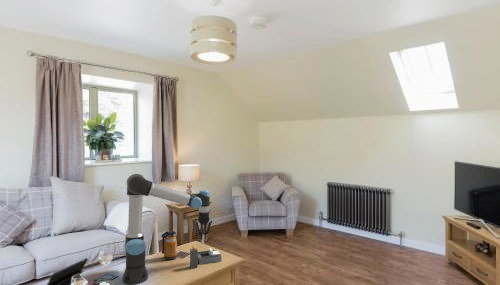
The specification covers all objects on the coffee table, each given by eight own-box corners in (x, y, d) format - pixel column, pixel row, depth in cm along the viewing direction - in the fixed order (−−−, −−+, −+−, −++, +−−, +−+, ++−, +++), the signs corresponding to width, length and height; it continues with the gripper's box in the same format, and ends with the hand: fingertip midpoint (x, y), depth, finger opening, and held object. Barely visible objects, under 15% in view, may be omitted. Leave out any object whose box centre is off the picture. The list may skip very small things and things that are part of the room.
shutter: (210, 255, 224) (211, 251, 224) (208, 252, 230) (208, 248, 230) (220, 254, 226) (220, 250, 226) (217, 251, 233) (217, 247, 233)
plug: (190, 268, 211) (191, 247, 211) (189, 266, 215) (190, 245, 215) (197, 267, 213) (197, 246, 213) (196, 265, 216) (196, 245, 216)
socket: (199, 264, 218) (199, 257, 218) (196, 258, 229) (196, 251, 229) (221, 261, 224) (221, 254, 224) (217, 255, 235) (217, 249, 235)
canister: (177, 259, 226) (177, 232, 226) (161, 261, 223) (161, 233, 223) (176, 255, 235) (176, 229, 235) (161, 256, 232) (161, 230, 231)
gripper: (196, 213, 219) (194, 246, 219) (213, 212, 224) (212, 244, 224) (194, 210, 226) (192, 243, 226) (211, 210, 231) (210, 241, 231)
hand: (202, 243), depth 225 cm, fingers closed
